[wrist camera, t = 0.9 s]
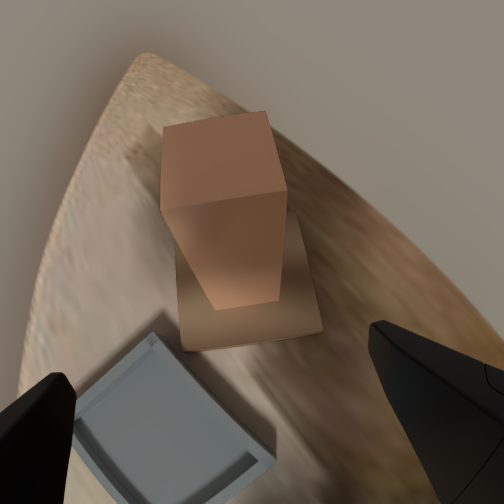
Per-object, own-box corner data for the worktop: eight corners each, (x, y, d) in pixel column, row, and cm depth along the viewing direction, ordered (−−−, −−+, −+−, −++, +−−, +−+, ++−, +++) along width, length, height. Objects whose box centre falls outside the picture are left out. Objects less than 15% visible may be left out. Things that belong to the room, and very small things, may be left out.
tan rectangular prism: (278, 300, 23) (287, 190, 11) (215, 310, 23) (160, 210, 11) (264, 224, 25) (259, 89, 14) (207, 232, 25) (165, 104, 14)
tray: (276, 455, 18) (277, 460, 17) (167, 536, 15) (159, 545, 14) (161, 336, 23) (152, 331, 21) (69, 419, 20) (55, 419, 18)
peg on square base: (321, 332, 22) (333, 316, 18) (184, 353, 22) (165, 341, 18) (294, 215, 27) (298, 181, 23) (176, 233, 26) (161, 203, 22)
